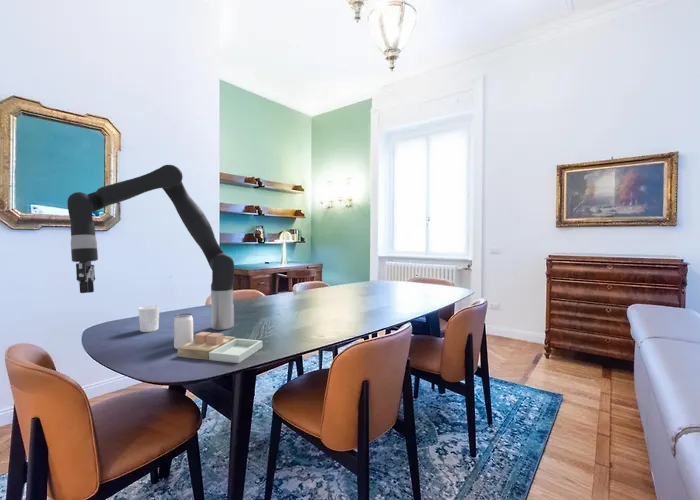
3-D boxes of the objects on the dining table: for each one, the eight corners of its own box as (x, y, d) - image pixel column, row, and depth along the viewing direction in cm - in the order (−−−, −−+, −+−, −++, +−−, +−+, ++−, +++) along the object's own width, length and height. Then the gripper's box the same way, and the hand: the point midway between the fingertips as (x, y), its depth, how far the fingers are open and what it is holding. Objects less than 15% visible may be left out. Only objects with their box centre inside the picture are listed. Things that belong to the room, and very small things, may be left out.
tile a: (201, 339, 126) (201, 331, 126) (211, 340, 125) (211, 332, 125) (194, 343, 122) (194, 334, 122) (204, 343, 121) (204, 335, 121)
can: (197, 345, 129) (196, 313, 128) (183, 350, 123) (183, 317, 122) (183, 343, 131) (183, 312, 130) (170, 348, 125) (169, 316, 124)
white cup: (150, 333, 144) (149, 309, 143) (134, 332, 145) (133, 308, 145) (163, 328, 152) (163, 306, 151) (148, 327, 153) (148, 305, 153)
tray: (235, 344, 130) (235, 338, 130) (262, 347, 127) (262, 340, 127) (209, 359, 114) (208, 352, 114) (238, 363, 112) (238, 355, 111)
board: (207, 342, 133) (207, 334, 132) (235, 344, 130) (235, 337, 130) (177, 356, 117) (177, 347, 117) (208, 359, 114) (208, 351, 114)
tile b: (213, 340, 125) (213, 332, 125) (223, 341, 124) (223, 333, 124) (206, 344, 121) (206, 335, 121) (216, 345, 120) (216, 336, 120)
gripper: (92, 245, 119) (95, 291, 118) (101, 249, 132) (104, 291, 131) (65, 247, 115) (68, 294, 115) (76, 250, 128) (79, 293, 127)
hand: (87, 292), depth 123 cm, fingers open, 8 cm apart
